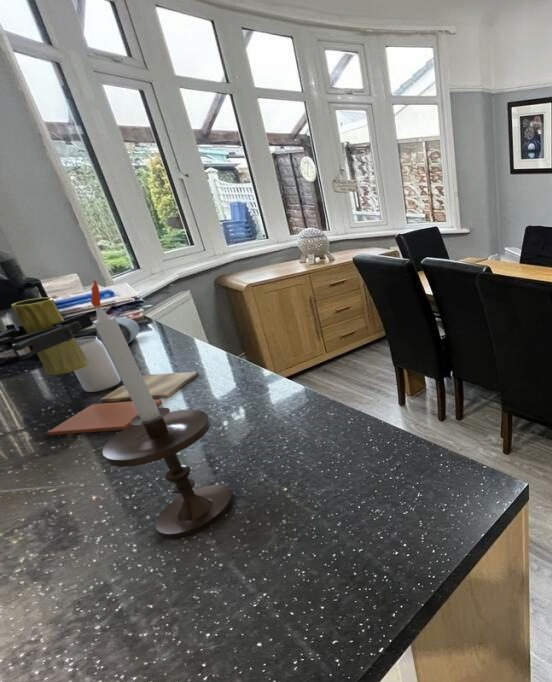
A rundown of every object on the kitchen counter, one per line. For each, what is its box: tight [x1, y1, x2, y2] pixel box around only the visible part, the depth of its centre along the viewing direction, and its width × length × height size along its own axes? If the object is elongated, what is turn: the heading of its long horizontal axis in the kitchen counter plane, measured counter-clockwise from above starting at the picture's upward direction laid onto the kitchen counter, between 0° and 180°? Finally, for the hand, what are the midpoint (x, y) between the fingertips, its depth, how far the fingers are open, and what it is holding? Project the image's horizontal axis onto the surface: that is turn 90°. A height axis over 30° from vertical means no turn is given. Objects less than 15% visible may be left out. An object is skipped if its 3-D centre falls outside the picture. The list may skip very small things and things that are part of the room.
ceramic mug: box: [96, 317, 140, 345], centre depth 117 cm, size 11×8×8 cm
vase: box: [10, 296, 89, 376], centre depth 77 cm, size 6×6×14 cm
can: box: [73, 335, 122, 393], centre depth 92 cm, size 6×6×12 cm
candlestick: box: [90, 279, 234, 540], centre depth 51 cm, size 11×11×35 cm
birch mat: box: [100, 371, 199, 403], centre depth 93 cm, size 14×11×1 cm
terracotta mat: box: [47, 398, 162, 436], centre depth 82 cm, size 14×10×1 cm
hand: (72, 320), depth 81 cm, fingers closed on vase, 5 cm apart
